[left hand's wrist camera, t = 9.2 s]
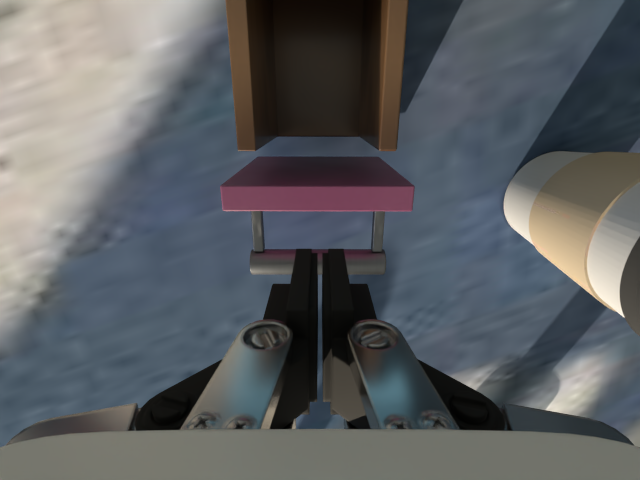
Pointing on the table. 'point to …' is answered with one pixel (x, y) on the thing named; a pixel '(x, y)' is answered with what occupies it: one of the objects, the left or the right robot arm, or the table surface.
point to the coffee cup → (584, 221)
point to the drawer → (317, 114)
